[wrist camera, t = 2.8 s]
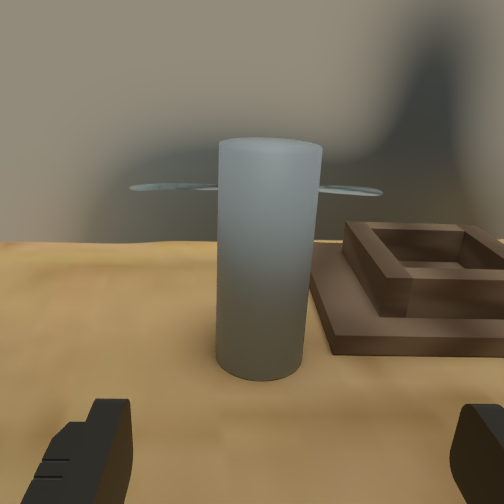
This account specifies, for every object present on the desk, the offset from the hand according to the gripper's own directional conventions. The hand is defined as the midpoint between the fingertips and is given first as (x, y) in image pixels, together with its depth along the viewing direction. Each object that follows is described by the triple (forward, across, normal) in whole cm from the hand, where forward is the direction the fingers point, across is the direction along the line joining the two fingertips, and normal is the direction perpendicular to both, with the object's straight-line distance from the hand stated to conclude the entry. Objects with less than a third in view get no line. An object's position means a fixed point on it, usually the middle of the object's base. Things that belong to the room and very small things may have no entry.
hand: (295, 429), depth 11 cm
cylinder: (+12, 0, +6) cm, 14 cm away
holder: (+19, -12, +6) cm, 23 cm away
